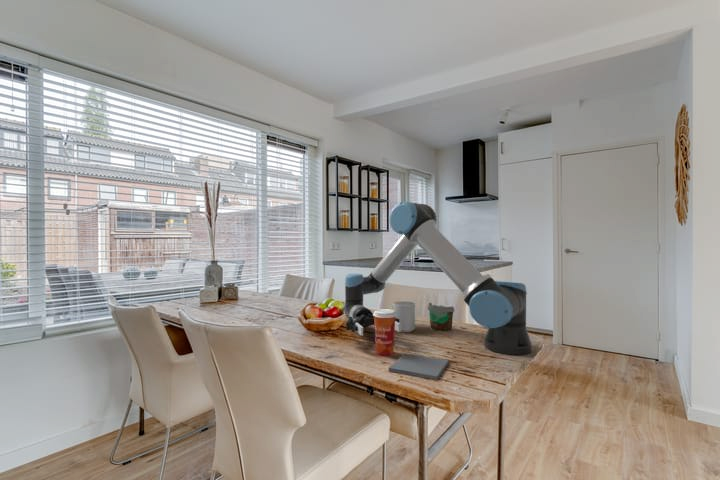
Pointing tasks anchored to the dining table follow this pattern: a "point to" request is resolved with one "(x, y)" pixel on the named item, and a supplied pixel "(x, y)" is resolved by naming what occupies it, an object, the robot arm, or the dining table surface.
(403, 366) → the pad
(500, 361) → the dining table surface
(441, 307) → the food container
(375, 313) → the paper cup
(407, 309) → the mug
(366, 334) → the dining table surface
